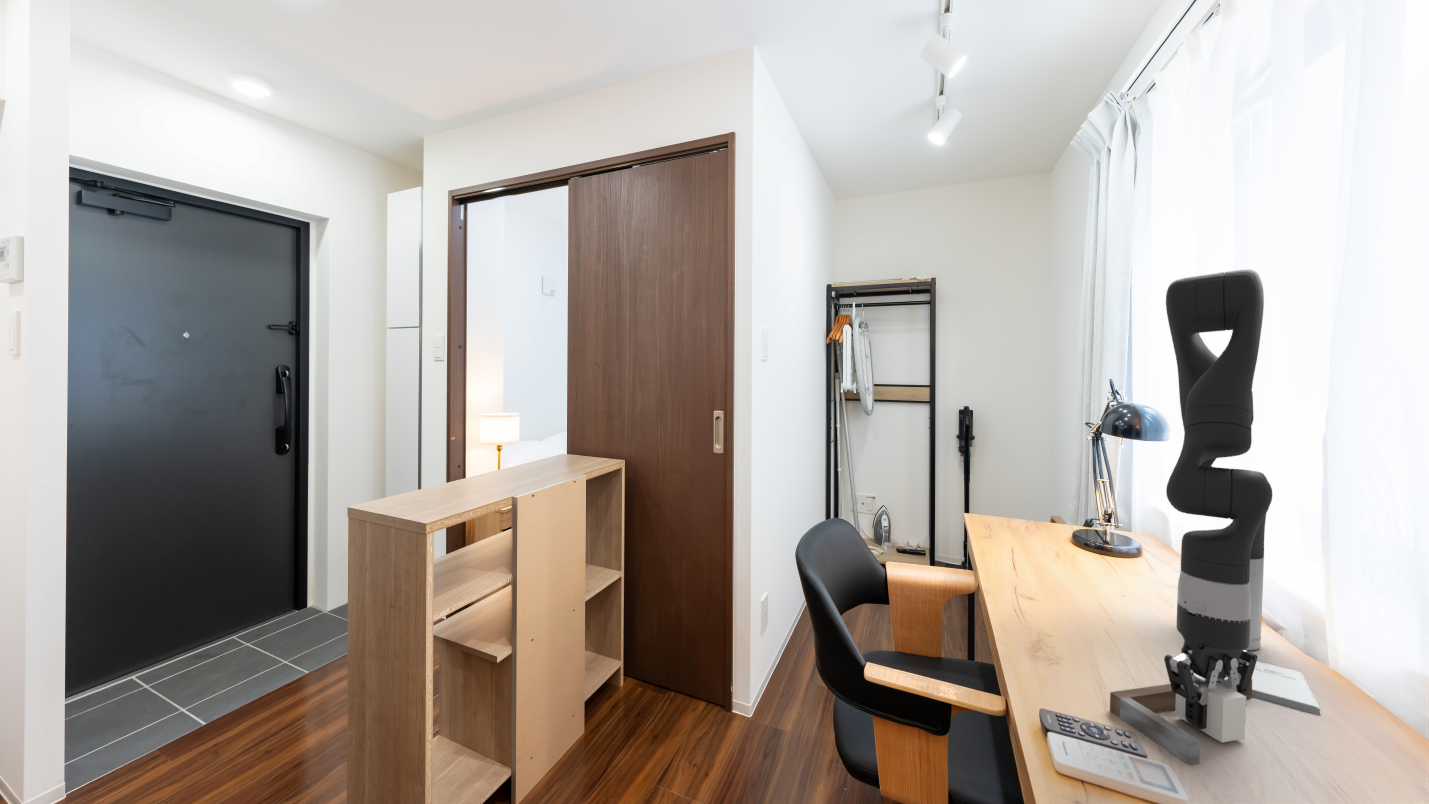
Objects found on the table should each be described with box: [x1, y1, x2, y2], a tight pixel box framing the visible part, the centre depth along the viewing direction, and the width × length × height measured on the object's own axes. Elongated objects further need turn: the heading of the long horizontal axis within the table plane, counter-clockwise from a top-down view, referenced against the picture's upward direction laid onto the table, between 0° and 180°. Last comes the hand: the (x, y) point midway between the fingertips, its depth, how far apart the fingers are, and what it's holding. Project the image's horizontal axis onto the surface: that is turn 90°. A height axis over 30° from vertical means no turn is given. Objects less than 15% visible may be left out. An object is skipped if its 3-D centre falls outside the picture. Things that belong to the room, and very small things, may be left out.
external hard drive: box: [1251, 660, 1321, 715], centre depth 85 cm, size 2×8×12 cm
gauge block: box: [1174, 673, 1247, 743], centre depth 74 cm, size 6×4×6 cm, turn 11°
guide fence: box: [1109, 674, 1253, 765], centre depth 75 cm, size 11×25×3 cm, turn 101°
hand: (1208, 722), depth 74 cm, fingers closed on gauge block, 4 cm apart
